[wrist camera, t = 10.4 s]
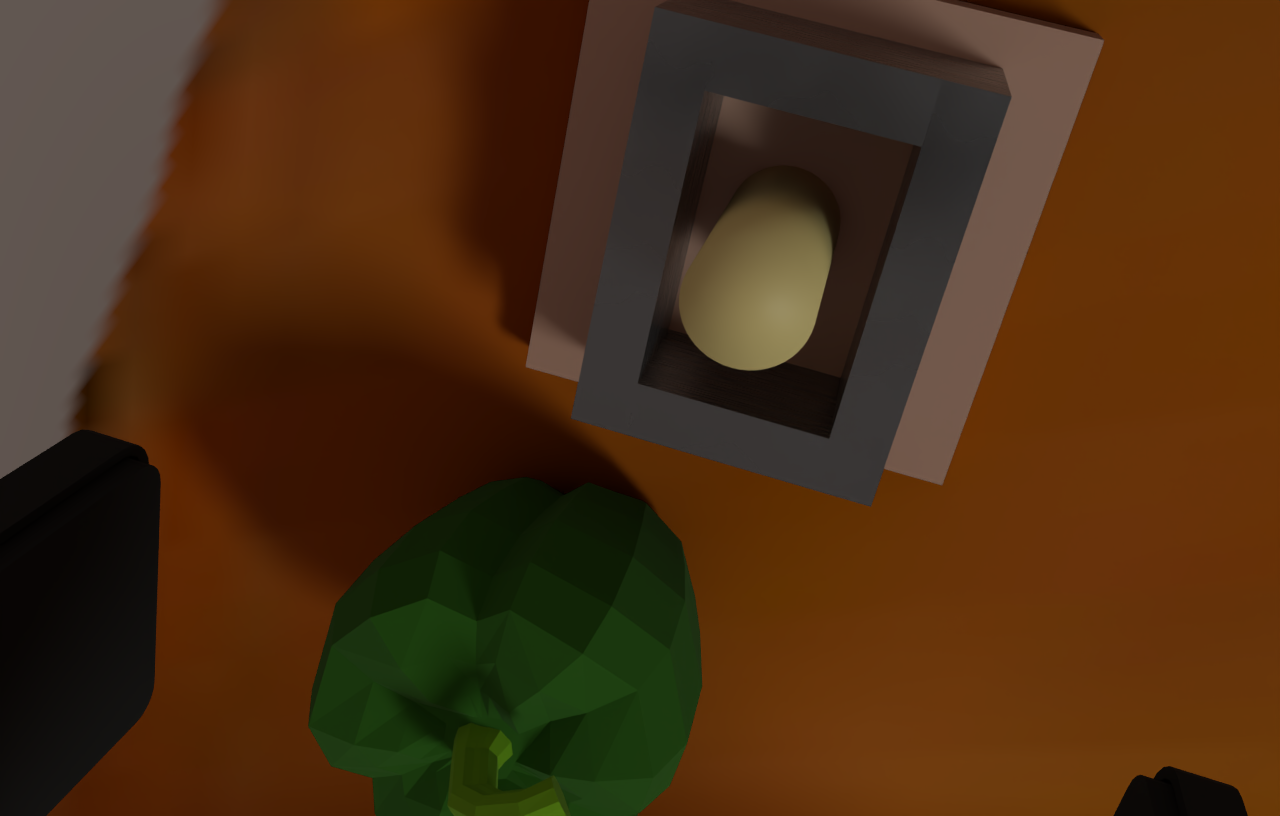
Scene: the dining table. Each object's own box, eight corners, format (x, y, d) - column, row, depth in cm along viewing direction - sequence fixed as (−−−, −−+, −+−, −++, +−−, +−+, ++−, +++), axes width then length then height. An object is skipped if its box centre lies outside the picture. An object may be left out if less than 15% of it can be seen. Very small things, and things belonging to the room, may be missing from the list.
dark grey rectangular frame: (1002, 68, 23) (1011, 96, 21) (877, 439, 27) (870, 506, 24) (688, -11, 24) (655, 6, 21) (608, 361, 28) (570, 418, 25)
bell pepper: (439, 675, 34) (264, 960, 25) (415, 413, 31) (202, 635, 22) (731, 716, 33) (653, 1037, 24) (739, 442, 29) (651, 696, 20)
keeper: (941, 465, 28) (943, 621, 22) (538, 351, 29) (440, 471, 24) (1098, 33, 24) (1149, 88, 18) (614, -82, 25) (517, -64, 19)
